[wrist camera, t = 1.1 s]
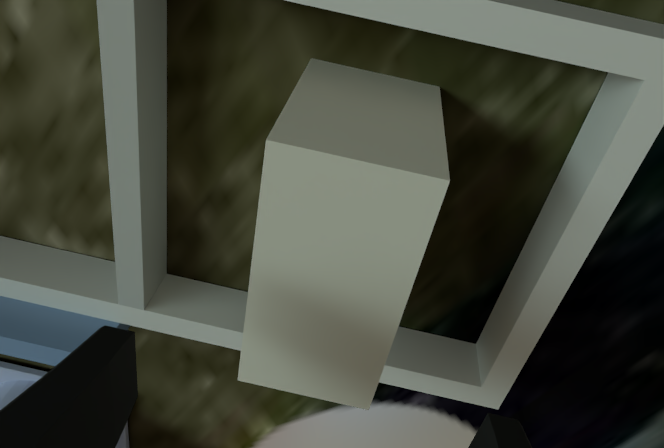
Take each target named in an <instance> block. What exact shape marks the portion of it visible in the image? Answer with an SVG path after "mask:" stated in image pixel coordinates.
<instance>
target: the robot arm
mask: <svg viewBox="0 0 664 448" xmlns="http://www.w3.org/2000/svg"><path fill="white" fill-rule="evenodd" d="M137 397H138V391H137V371H136V351H135V332H132V331H128V330H124V329H119V328H115V327H111V326H106V325H105V326H103V327H101V328H99V329H98V330H97V331H96V332H95V333H94V334H92V335H91V336H90V337H89V338H88V339H87V340H85V341H84V342H83V343H82V344H81V345H80V346H78V347H77V348H76V349H75V350H74V351H73V352H71V353H70V354H69V355H68V356H67V357H66V358H64V359H63V360H62V361H61V362H60V363H58V364H57V365H56V366H55V367H54V368H52V369H51V370H50V371H49V372H46V371H42V370H37V369H33V368H29V367H24V366H20V365H16V364H11V363H7V362H3V361H0V448H129V436H128V422H127V420H128V418H129V416H130V413H131V411H132V409H133V406H134V404H135V402H136V399H137ZM469 448H532V446H531V444H530V442H529V440H528V438H527V436H526V434H525V432H524V429H523V427H522V425H521V424H520V422H519V420H516V419H512V418H508V417H503V416H499V415H494V414H490V413H488V414H487V416H486V417H485V419H484V421H483V423H482V425H481V426H480V428H479V430H478V432H477V433H476V435H475V437H474V439H473V441H472V442H471V444H470V446H469Z"/></svg>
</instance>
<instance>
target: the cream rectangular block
mask: <svg viewBox="0 0 664 448" xmlns="http://www.w3.org/2000/svg"><path fill="white" fill-rule="evenodd" d="M449 182H450V176H449V167H448V158H447V149H446V140H445V131H444V122H443V113H442V103H441V94H440V87H438V86H434V85H429V84H425V83H420V82H416V81H411V80H407V79H402V78H398V77H393V76H389V75H384V74H380V73H375V72H371V71H366V70H362V69H357V68H353V67H348V66H344V65H339V64H335V63H330V62H326V61H321V60H317V59H312V58H311V60H310V61H309V63H308V65H307V67H306V69H305V70H304V72H303V74H302V76H301V78H300V80H299V81H298V83H297V85H296V87H295V89H294V90H293V92H292V94H291V96H290V98H289V99H288V101H287V103H286V105H285V107H284V108H283V110H282V112H281V114H280V116H279V117H278V119H277V121H276V123H275V125H274V126H273V128H272V130H271V132H270V134H269V136H268V137H267V139H266V145H265V154H264V162H263V170H262V179H261V187H260V196H259V204H258V213H257V221H256V229H255V238H254V246H253V255H252V263H251V271H250V280H249V288H248V297H247V305H246V313H245V322H244V330H243V339H242V347H241V355H240V364H239V372H238V381H243V382H247V383H252V384H256V385H260V386H265V387H269V388H274V389H278V390H282V391H287V392H291V393H296V394H300V395H304V396H309V397H313V398H318V399H322V400H327V401H331V402H335V403H340V404H344V405H349V406H353V407H357V408H362V409H366V410H369V408H370V405H371V402H372V399H373V397H374V394H375V391H376V388H377V385H378V382H379V380H380V377H381V374H382V371H383V368H384V366H385V363H386V360H387V357H388V354H389V351H390V349H391V346H392V343H393V340H394V337H395V335H396V332H397V329H398V326H399V323H400V320H401V318H402V315H403V312H404V309H405V306H406V304H407V301H408V298H409V295H410V292H411V289H412V287H413V284H414V281H415V278H416V275H417V273H418V270H419V267H420V264H421V261H422V258H423V256H424V253H425V250H426V247H427V244H428V242H429V239H430V236H431V233H432V230H433V227H434V225H435V222H436V219H437V216H438V213H439V211H440V208H441V205H442V202H443V199H444V196H445V194H446V191H447V188H448V185H449Z"/></svg>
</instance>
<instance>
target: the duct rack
mask: <svg viewBox="0 0 664 448" xmlns="http://www.w3.org/2000/svg"><path fill="white" fill-rule="evenodd" d="M285 1H290V2H294V3H299V4H303V5H308V6H312V7H317V8H321V9H326V10H330V11H335V12H339V13H344V14H348V15H353V16H357V17H362V18H366V19H371V20H375V21H380V22H384V23H389V24H393V25H398V26H402V27H407V28H411V29H416V30H420V31H425V32H429V33H434V34H438V35H443V36H447V37H452V38H457V39H461V40H466V41H470V42H475V43H479V44H484V45H488V46H493V47H497V48H502V49H506V50H511V51H515V52H520V53H524V54H529V55H533V56H538V57H542V58H547V59H551V60H556V61H560V62H565V63H569V64H574V65H578V66H583V67H587V68H592V69H596V70H601V71H605V72H608V74H607V76H606V78H605V80H604V82H603V84H602V86H601V89H600V91H599V93H598V95H597V97H596V99H595V101H594V103H593V105H592V107H591V109H590V111H589V113H588V115H587V117H586V119H585V121H584V123H583V125H582V128H581V130H580V132H579V134H578V136H577V138H576V140H575V142H574V144H573V146H572V148H571V150H570V152H569V154H568V156H567V158H566V160H565V162H564V164H563V167H562V169H561V171H560V173H559V175H558V177H557V179H556V181H555V183H554V185H553V187H552V189H551V191H550V193H549V195H548V197H547V199H546V201H545V203H544V206H543V208H542V210H541V212H540V214H539V216H538V218H537V220H536V222H535V224H534V226H533V228H532V230H531V232H530V234H529V236H528V238H527V240H526V242H525V245H524V247H523V249H522V251H521V253H520V255H519V257H518V259H517V261H516V263H515V265H514V267H513V269H512V271H511V273H510V275H509V277H508V279H507V281H506V284H505V286H504V288H503V290H502V292H501V294H500V296H499V298H498V300H497V302H496V304H495V306H494V308H493V310H492V312H491V314H490V316H489V318H488V320H487V323H486V325H485V327H484V329H483V331H482V333H481V335H480V337H479V339H478V341H477V343H476V344H474V343H469V342H465V341H461V340H456V339H452V338H448V337H443V336H439V335H434V334H430V333H426V332H421V331H417V330H412V329H408V328H404V327H399V326H398V329H397V332H396V335H395V337H394V340H393V343H392V346H391V349H390V351H389V354H388V357H387V360H386V363H385V366H384V368H383V371H382V374H381V377H380V380H379V382H380V383H385V384H389V385H393V386H398V387H402V388H406V389H411V390H415V391H420V392H424V393H428V394H433V395H437V396H441V397H446V398H450V399H455V400H459V401H463V402H468V403H472V404H476V405H481V406H485V407H490V408H494V409H499V407H500V405H501V404H502V402H503V400H504V398H505V397H506V395H507V393H508V392H509V390H510V388H511V386H512V385H513V383H514V381H515V379H516V378H517V376H518V374H519V373H520V371H521V369H522V367H523V366H524V364H525V362H526V361H527V359H528V357H529V355H530V354H531V352H532V350H533V349H534V347H535V345H536V343H537V342H538V340H539V338H540V337H541V335H542V333H543V331H544V330H545V328H546V326H547V324H548V323H549V321H550V319H551V318H552V316H553V314H554V312H555V311H556V309H557V307H558V306H559V304H560V302H561V300H562V299H563V297H564V295H565V294H566V292H567V290H568V288H569V287H570V285H571V283H572V282H573V280H574V278H575V276H576V275H577V273H578V271H579V270H580V268H581V266H582V264H583V263H584V261H585V259H586V257H587V256H588V254H589V252H590V251H591V249H592V247H593V245H594V244H595V242H596V240H597V239H598V237H599V235H600V233H601V232H602V230H603V228H604V227H605V225H606V223H607V221H608V220H609V218H610V216H611V215H612V213H613V211H614V209H615V208H616V206H617V204H618V202H619V201H620V199H621V197H622V196H623V194H624V192H625V190H626V189H627V187H628V185H629V184H630V182H631V180H632V178H633V177H634V175H635V173H636V172H637V170H638V168H639V166H640V165H641V163H642V161H643V160H644V158H645V156H646V154H647V153H648V151H649V149H650V147H651V146H652V144H653V142H654V141H655V139H656V137H657V135H658V134H659V132H660V130H661V129H662V127H663V125H664V25H663V24H659V23H654V22H650V21H645V20H641V19H636V18H632V17H627V16H623V15H618V14H614V13H609V12H605V11H600V10H596V9H591V8H587V7H582V6H578V5H573V4H568V3H564V2H559V1H555V0H285ZM97 12H98V26H99V40H100V54H101V68H102V82H103V96H104V110H105V125H106V139H107V153H108V167H109V181H110V195H111V209H112V223H113V237H114V251H115V262H113V261H109V260H104V259H100V258H96V257H91V256H87V255H82V254H78V253H74V252H69V251H65V250H60V249H56V248H52V247H47V246H43V245H39V244H34V243H30V242H25V241H21V240H17V239H12V238H8V237H3V236H0V354H5V355H9V356H13V357H18V358H22V359H26V360H31V361H35V362H39V363H44V364H48V365H52V366H56V365H57V364H58V363H60V362H61V361H62V360H63V359H64V358H66V357H67V356H68V355H69V354H70V353H71V352H73V351H74V350H75V349H76V348H77V347H78V346H80V345H81V344H82V343H83V342H84V341H85V340H87V339H88V338H89V337H90V336H91V335H92V334H94V333H95V332H96V331H97V330H98V329H99V328H101V327H103V326H105V325H106V326H111V327H115V328H119V329H124V330H128V328H129V327H130V325H131V326H135V327H139V328H144V329H148V330H153V331H157V332H161V333H166V334H170V335H174V336H179V337H183V338H188V339H192V340H196V341H201V342H205V343H209V344H214V345H218V346H223V347H227V348H231V349H236V350H240V351H241V347H242V339H243V330H244V322H245V313H246V305H247V297H248V292H245V291H241V290H236V289H232V288H228V287H223V286H219V285H214V284H210V283H206V282H201V281H197V280H192V279H188V278H184V277H179V276H175V275H170V274H167V0H97Z"/></svg>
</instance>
